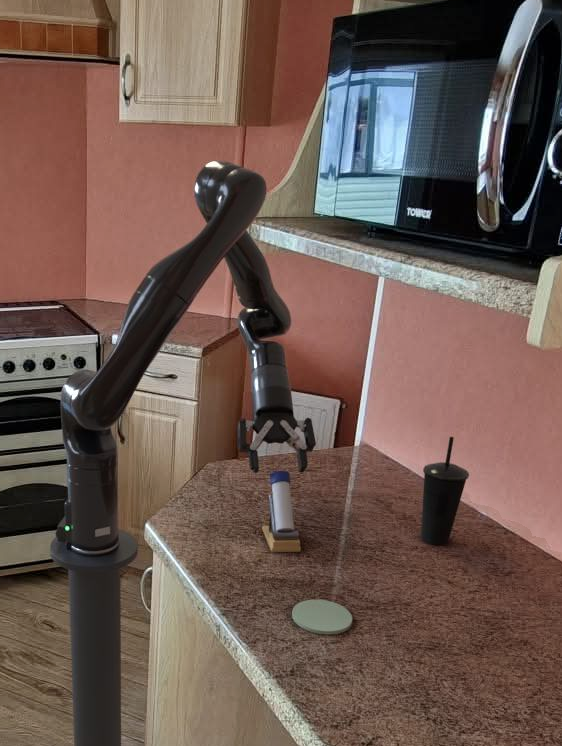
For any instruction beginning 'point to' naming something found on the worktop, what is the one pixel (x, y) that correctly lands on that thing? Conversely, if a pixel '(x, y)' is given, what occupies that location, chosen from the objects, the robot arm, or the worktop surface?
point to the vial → (282, 500)
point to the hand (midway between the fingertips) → (279, 471)
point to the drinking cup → (441, 498)
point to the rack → (280, 535)
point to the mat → (322, 616)
